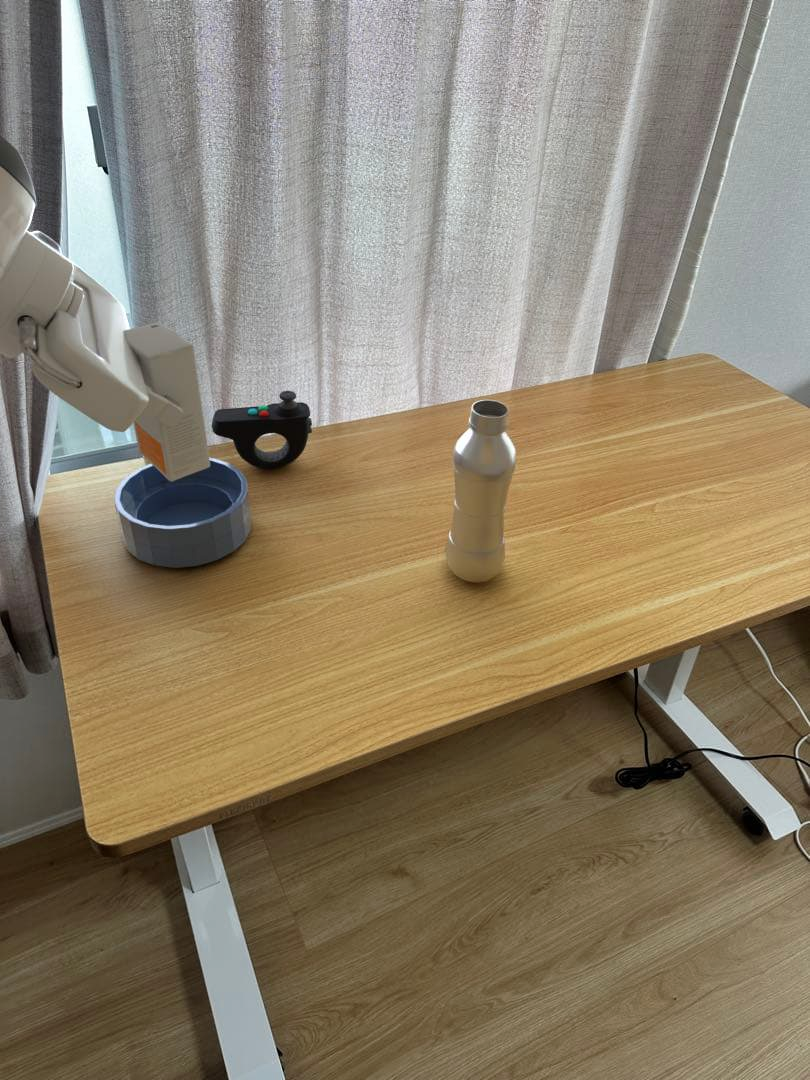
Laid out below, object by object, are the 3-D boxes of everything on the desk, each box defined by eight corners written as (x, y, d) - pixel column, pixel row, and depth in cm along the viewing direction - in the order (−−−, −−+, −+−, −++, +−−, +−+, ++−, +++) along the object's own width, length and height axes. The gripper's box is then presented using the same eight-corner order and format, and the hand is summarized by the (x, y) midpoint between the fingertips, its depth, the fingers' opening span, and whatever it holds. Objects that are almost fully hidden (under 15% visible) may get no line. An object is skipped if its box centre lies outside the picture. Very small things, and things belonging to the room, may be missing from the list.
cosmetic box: (137, 455, 74) (112, 331, 67) (179, 440, 76) (160, 319, 69) (169, 484, 70) (147, 357, 63) (212, 468, 73) (195, 343, 65)
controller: (315, 470, 104) (312, 400, 98) (217, 478, 102) (208, 408, 96) (311, 452, 107) (308, 384, 101) (216, 460, 105) (207, 391, 99)
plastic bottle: (459, 595, 85) (474, 431, 73) (434, 558, 90) (445, 397, 78) (513, 583, 87) (537, 420, 75) (486, 546, 92) (504, 388, 80)
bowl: (141, 587, 85) (131, 542, 81) (112, 516, 95) (102, 473, 91) (269, 551, 90) (265, 507, 87) (229, 487, 100) (223, 446, 97)
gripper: (48, 317, 52) (216, 426, 61) (40, 224, 67) (176, 323, 76) (-7, 388, 54) (165, 485, 63) (-3, 282, 69) (135, 372, 78)
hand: (171, 395), depth 70 cm, fingers closed on cosmetic box, 7 cm apart
